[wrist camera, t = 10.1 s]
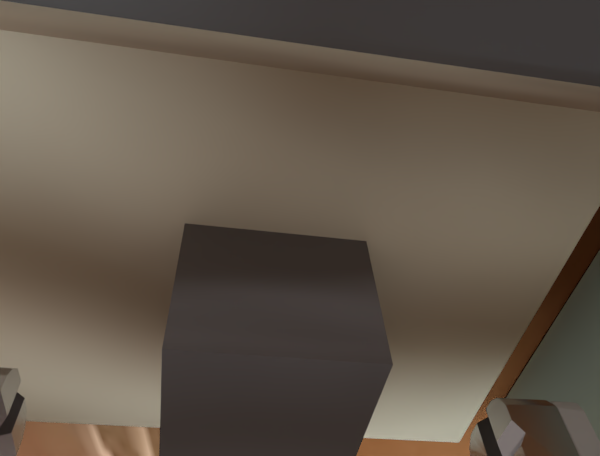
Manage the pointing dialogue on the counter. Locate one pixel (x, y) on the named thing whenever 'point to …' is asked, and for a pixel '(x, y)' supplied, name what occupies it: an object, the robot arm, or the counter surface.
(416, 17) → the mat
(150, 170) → the cover lid
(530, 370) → the box
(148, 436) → the counter surface
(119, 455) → the counter surface
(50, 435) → the counter surface
